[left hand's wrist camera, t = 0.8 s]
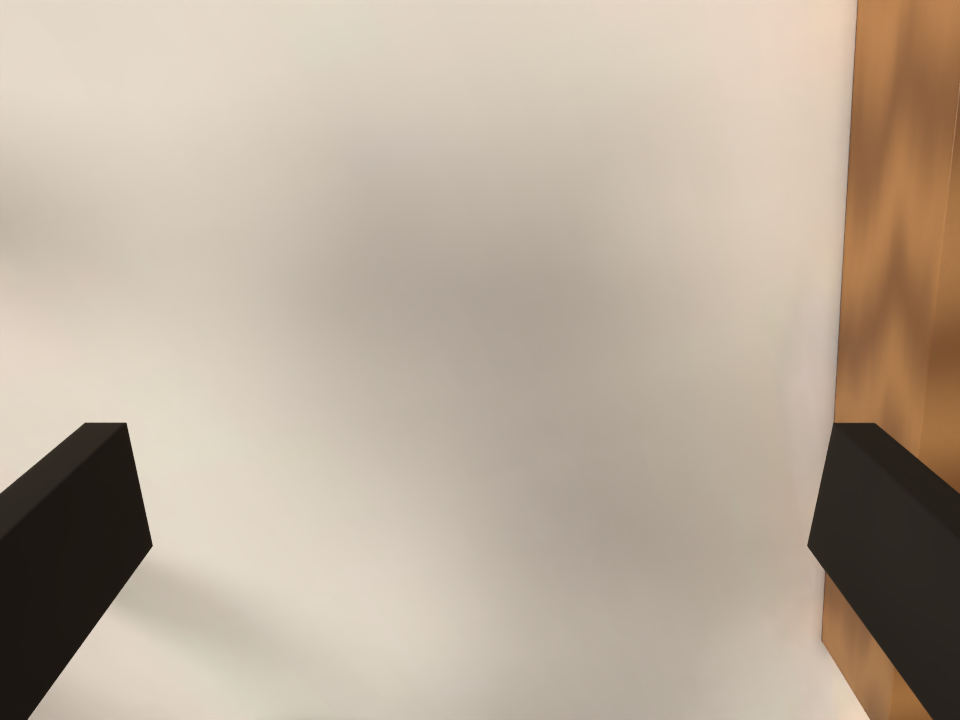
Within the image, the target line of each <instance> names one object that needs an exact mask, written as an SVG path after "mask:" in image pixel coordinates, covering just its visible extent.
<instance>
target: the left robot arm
mask: <svg viewBox="0 0 960 720" xmlns="http://www.w3.org/2000/svg"><path fill="white" fill-rule="evenodd" d="M152 546H153V545H152V540H151V535H150V531H149V526H148V521H147V517H146V512H145V507H144V503H143V498H142V493H141V489H140V484H139V479H138V475H137V470H136V465H135V461H134V456H133V451H132V447H131V442H130V437H129V433H128V428H127V423H84V424H83V425H82V426H81V427H79V428H78V429H77V430H76V431H75V432H73V433H72V434H71V435H70V436H69V437H67V438H66V439H65V440H64V441H63V442H61V443H60V444H59V445H58V446H57V447H56V448H54V449H53V450H52V451H51V452H50V453H48V454H47V455H46V456H45V457H44V458H42V459H41V460H40V461H39V462H38V463H36V464H35V465H34V466H33V467H32V468H30V469H29V470H28V471H27V472H26V473H24V474H23V475H22V476H21V477H20V478H18V479H17V480H16V481H15V482H14V483H12V484H11V485H10V486H9V487H8V488H6V489H5V490H4V491H3V492H2V493H0V720H27V719H28V718H29V717H30V715H31V714H32V713H33V711H34V710H35V708H36V707H37V706H38V704H39V703H40V701H41V700H42V699H43V697H44V696H45V695H46V693H47V692H48V690H49V689H50V688H51V686H52V685H53V683H54V682H55V681H56V679H57V678H58V677H59V675H60V674H61V672H62V671H63V670H64V668H65V667H66V665H67V664H68V663H69V661H70V660H71V658H72V657H73V656H74V654H75V653H76V652H77V650H78V649H79V647H80V646H81V645H82V643H83V642H84V640H85V639H86V638H87V636H88V635H89V634H90V632H91V631H92V629H93V628H94V627H95V625H96V624H97V622H98V621H99V620H100V618H101V617H102V616H103V614H104V613H105V611H106V610H107V609H108V607H109V606H110V604H111V603H112V602H113V600H114V599H115V598H116V596H117V595H118V593H119V592H120V591H121V589H122V588H123V586H124V585H125V584H126V582H127V581H128V580H129V578H130V577H131V575H132V574H133V573H134V571H135V570H136V568H137V567H138V566H139V564H140V563H141V562H142V560H143V559H144V557H145V556H146V555H147V553H148V552H149V550H150V549H151V548H152ZM807 546H808V548H809V549H810V550H811V552H812V553H813V555H814V556H815V557H816V559H817V560H818V562H819V563H820V564H821V566H822V567H823V568H824V570H825V571H826V573H827V574H828V575H829V577H830V578H831V580H832V581H833V582H834V584H835V585H836V586H837V588H838V589H839V591H840V592H841V593H842V595H843V596H844V598H845V599H846V600H847V602H848V603H849V604H850V606H851V607H852V609H853V610H854V611H855V613H856V614H857V616H858V617H859V618H860V620H861V621H862V622H863V624H864V625H865V627H866V628H867V629H868V631H869V632H870V634H871V635H872V636H873V638H874V639H875V640H876V642H877V643H878V645H879V646H880V647H881V649H882V650H883V652H884V653H885V654H886V656H887V657H888V658H889V660H890V661H891V663H892V664H893V665H894V667H895V668H896V670H897V671H898V672H899V674H900V675H901V677H902V678H903V679H904V681H905V682H906V683H907V685H908V686H909V688H910V689H911V690H912V692H913V693H914V695H915V696H916V697H917V699H918V700H919V701H920V703H921V704H922V706H923V707H924V708H925V710H926V711H927V713H928V714H929V715H930V717H931V718H932V719H933V720H960V493H958V492H957V491H956V490H955V489H954V488H952V487H951V486H950V485H949V484H948V483H946V482H945V481H944V480H943V479H942V478H940V477H939V476H938V475H937V474H936V473H934V472H933V471H932V470H931V469H930V468H928V467H927V466H926V465H925V464H924V463H922V462H921V461H920V460H919V459H918V458H916V457H915V456H914V455H913V454H912V453H910V452H909V451H908V450H907V449H906V448H904V447H903V446H902V445H901V444H900V443H899V442H897V441H896V440H895V439H894V438H893V437H891V436H890V435H889V434H888V433H887V432H885V431H884V430H883V429H882V428H881V427H879V426H878V425H877V424H876V423H833V428H832V433H831V437H830V442H829V447H828V451H827V456H826V461H825V465H824V470H823V475H822V479H821V484H820V489H819V493H818V498H817V503H816V507H815V512H814V517H813V521H812V526H811V531H810V535H809V540H808V545H807Z"/></svg>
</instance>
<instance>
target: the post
mask: <svg viewBox="0 0 960 720" xmlns="http://www.w3.org/2000/svg"><path fill="white" fill-rule="evenodd" d="M834 423H876V424H877V425H878V426H879V427H881V428H882V429H883V430H884V431H885V432H887V433H888V434H889V435H890V436H891V437H893V438H894V439H895V440H896V441H897V442H899V443H900V444H901V445H902V446H903V447H904V448H906V449H907V450H908V451H909V452H910V453H912V454H913V455H914V456H915V457H916V458H918V459H919V460H920V461H921V462H922V463H924V464H925V465H926V466H927V467H928V468H930V469H931V470H932V471H933V472H934V473H936V474H937V475H938V476H939V477H940V478H942V479H943V480H944V481H945V482H946V483H948V484H949V485H950V486H951V487H952V488H954V489H955V490H956V491H957V492H958V493H960V0H858V13H857V31H856V48H855V66H854V84H853V101H852V119H851V136H850V154H849V172H848V189H847V207H846V224H845V242H844V260H843V277H842V295H841V312H840V330H839V348H838V365H837V383H836V400H835V418H834ZM822 642H823V643H824V645H825V647H826V648H827V650H828V652H829V653H830V655H831V657H832V658H833V660H834V661H835V663H836V665H837V666H838V668H839V670H840V671H841V673H842V674H843V676H844V678H845V679H846V681H847V683H848V684H849V686H850V688H851V689H852V691H853V692H854V694H855V696H856V697H857V699H858V701H859V702H860V704H861V706H862V707H863V709H864V710H865V712H866V714H867V715H868V717H869V719H870V720H933V719H932V718H931V717H930V715H929V714H928V713H927V711H926V710H925V708H924V707H923V706H922V704H921V703H920V701H919V700H918V699H917V697H916V696H915V695H914V693H913V692H912V690H911V689H910V688H909V686H908V685H907V683H906V682H905V681H904V679H903V678H902V677H901V675H900V674H899V672H898V671H897V670H896V668H895V667H894V665H893V664H892V663H891V661H890V660H889V658H888V657H887V656H886V654H885V653H884V652H883V650H882V649H881V647H880V646H879V645H878V643H877V642H876V640H875V639H874V638H873V636H872V635H871V634H870V632H869V631H868V629H867V628H866V627H865V625H864V624H863V622H862V621H861V620H860V618H859V617H858V616H857V614H856V613H855V611H854V610H853V609H852V607H851V606H850V604H849V603H848V602H847V600H846V599H845V598H844V596H843V595H842V593H841V592H840V591H839V589H838V588H837V586H836V585H835V584H834V582H833V581H832V580H831V578H830V577H829V575H828V574H827V573H826V576H825V594H824V612H823V629H822Z"/></svg>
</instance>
